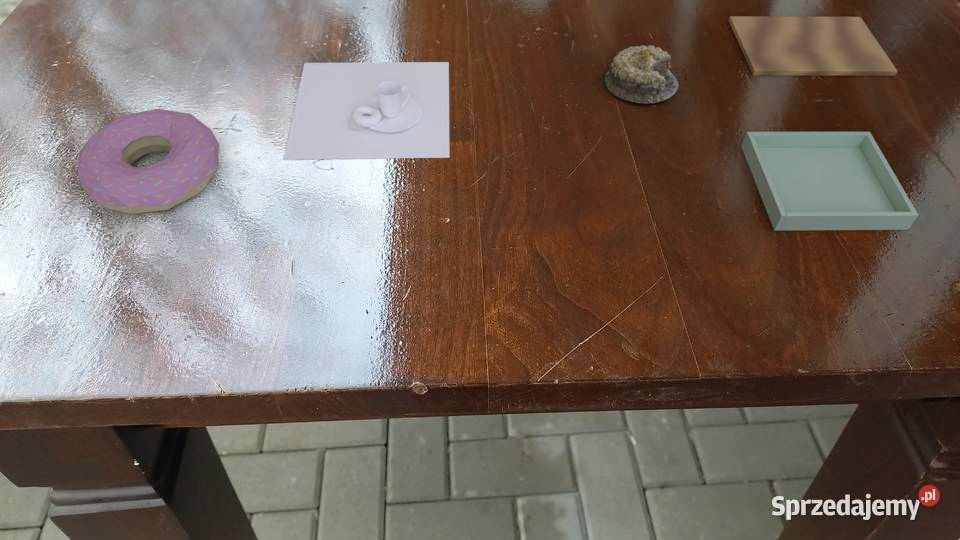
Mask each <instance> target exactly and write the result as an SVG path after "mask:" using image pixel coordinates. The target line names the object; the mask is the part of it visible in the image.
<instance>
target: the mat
mask: <svg viewBox="0 0 960 540" xmlns="http://www.w3.org/2000/svg"><path fill="white" fill-rule="evenodd" d="M728 23H729V25H730V28H731V30H732V32H733V34H734V36H735V38H736V41H737V43H738V45H739V48H740V49H741V52H742V54H743V56H744V58H745V61H746V63H747V65H748V67H749V70H750V72H751V74H752V76H755V77H757V76H761V77H762V76H763V77H764V76H765V77H766V76H767V77H768V76H770V77H771V76H772V77H773V76H776V77H777V76H780V77H781V76H783V77H784V76H785V77H786V76H790V77H791V76H793V77H794V76H796V77H797V76H798V77H800V76H803V77H804V76H809V77H810V76H811V77H813V76H815V77H817V76H820V77H822V76H823V77H824V76H825V77H827V76H829V77H830V76H831V77H832V76H836V77H841V76H842V77H847V76H848V77H849V76H850V77H853V76H854V77H855V76H857V77H863V76H864V77H870V76H871V77H882V76H883V77H895V76H896V75H897V73H898V69H897V68H896V66H895V65H894V64H893V62H892V61H891V59H890V58H889V56H888V55H887V53H886V52H885V50H884V49H883V48H882V46H881V45H880V43H879V42H878V40H877V39H876V37H875V36H874V35H873V33H872V31H871V29H869V27H868V25H867V24H866V22H865V21H864V20H863V18H862V17H861V16H790V15H789V16H786V15H785V16H782V15H781V16H779V15H778V16H777V15H776V16H775V15H773V16H772V15H771V16H768V15H767V16H764V15H763V16H762V15H761V16H757V15H756V16H755V15H754V16H753V15H748V16H747V15H745V16H744V15H743V16H742V15H741V16H740V15H735V16H734V15H730V16H729V17H728Z"/></svg>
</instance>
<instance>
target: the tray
mask: <svg viewBox="0 0 960 540" xmlns="http://www.w3.org/2000/svg"><path fill="white" fill-rule="evenodd" d="M741 150H742V152H743V155H744V158H745V160H746V163H747V165H748V167H749V170H750V173H751V175H752V178H753V180H754V183H755V185H756V188H757V190H758V193H759V195H760V198H761V201H762V203H763V207H764V208H765V211H766V213H767V216H768V218H769V221H770V223H771V226H772V229H773V231H908V230H910V228H911V226H912V225H913V224H914V222H915V221H916V220H917V218H918V217H919V213H918V212H917V210H916V207H915V206H914V204H913V203H912V201H911V200H910V198H909V196H908V194H907V192H906V191H905V190H904V187H903V186H902V184H901V182H900V180H899V178H898V177H897V176H896V173H894V170H893V169H892V167H891V166H890V163H889V162H888V160H887V158H886V157H885V154H883V151H882V150H881V149H880V147H879V145H878V143H877V142H876V140H875V138H874V136H873V135H872V133H871V131H747V132H746V134H745V136H744V139H743V141H742V144H741Z"/></svg>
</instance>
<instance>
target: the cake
mask: <svg viewBox="0 0 960 540" xmlns="http://www.w3.org/2000/svg"><path fill="white" fill-rule="evenodd" d="M671 59H672V58H671V54H668V52H667V51H666V50H663V49H662V48H661V47H659V46H657V47H656V46H655V45H650V44H649V45H643V44H642V45H639V46H638V45H636V46H629V47H627V48H624V49H623V50H620V51H619V52H618V53H616V55H615V56H614V57H613V58H612V62H611V63H609V66H608V68H609V69H608V71H607V72H605V76H604V78H603V79H604V84H605V87H606V89H607V91H608V92H610V94H613V96H614V97H617V98H619V99H622V100H623V101H626V102H630V103H636V104H644V105H647V104H648V105H649V104H656V103H661V102H664V101H666V100H669V99H670V98H672V97H673V96H674V95H675V94H677V92H678V90H679V81H678V78H677V77H676V76H675V75H674V74H673V73H672V72H671V67H672V65H670V64H671Z"/></svg>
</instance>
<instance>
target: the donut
mask: <svg viewBox="0 0 960 540" xmlns="http://www.w3.org/2000/svg"><path fill="white" fill-rule="evenodd" d="M167 152H168V153H167ZM160 153H167V155H165V157H164V159H163V160H160V161H158V162H155V163H153V164H150V165H149V166H137V167H136V166H133V164H134V163H136V162H137V161H138V160H139V159H141V158H142V157H143V156H145V155H153V154H160ZM219 166H220V143H219V141H218V139H217V138H216V136H215V134H214V132H213V130H212V129H211V128H209V127H208V126H207V124H204V123H203V122H202V121H201V120H200V119H198V118H197V117H195V115H193V114H192V113H187V112H182V111H175V110H171V109H170V110H169V109H163V108H154V109H150V110H149V109H148V110H143V111H139V112H134V113H129V114H124V115H119V116H118V117H116V118H115V119H114V120H112V121H111V122H109V123H108V124H106V125H105V126H103V127H101V129H99V130H98V131H96V132H95V133H93V134H91V136H90V137H89V138H88V140H87V141H86V142H85V144H84V145H83V146H82V148H81V149H80V150H79V154H78V167H77V177H78V180H79V184H80V185H81V188H82V189H84V190H85V191H86V192H87V193H88V195H89V196H90V197H91V198H92V200H93V201H94V202H95V203H96V204H97V205H101V206H102V207H103V208H104V209H106V210H107V209H108V210H112V211H116V212H120V213H124V214H129V215H132V214H140V213H148V212H149V213H150V212H160V211H167V210H170V209H171V208H174V207H176V206H178V205H180V204H182V203H184V202H186V201H188V200H190V199H192V198H194V197H195V196H197V195H200V194H201V193H202V192H203V190H204V189H205V188H206V187H207V185H208V184H209V182H210V181H211V180H212V178H213V177H214V175H215V174H216V172H217V171H218V169H219Z"/></svg>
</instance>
